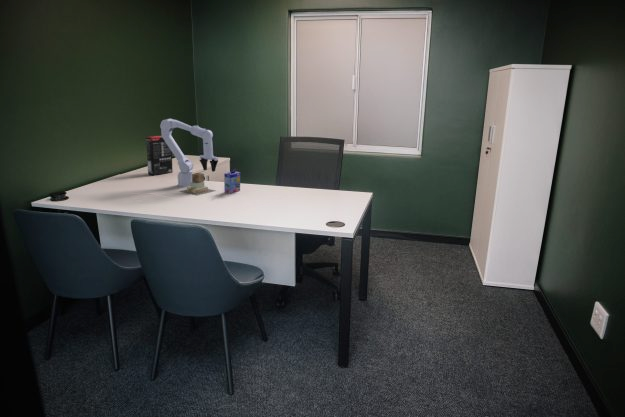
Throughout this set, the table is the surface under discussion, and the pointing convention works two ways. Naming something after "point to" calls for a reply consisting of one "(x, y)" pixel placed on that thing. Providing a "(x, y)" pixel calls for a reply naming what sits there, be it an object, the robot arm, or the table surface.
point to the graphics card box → (158, 156)
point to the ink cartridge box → (232, 182)
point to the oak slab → (197, 189)
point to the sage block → (196, 185)
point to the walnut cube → (197, 177)
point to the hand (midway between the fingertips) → (209, 170)
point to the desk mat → (197, 193)
